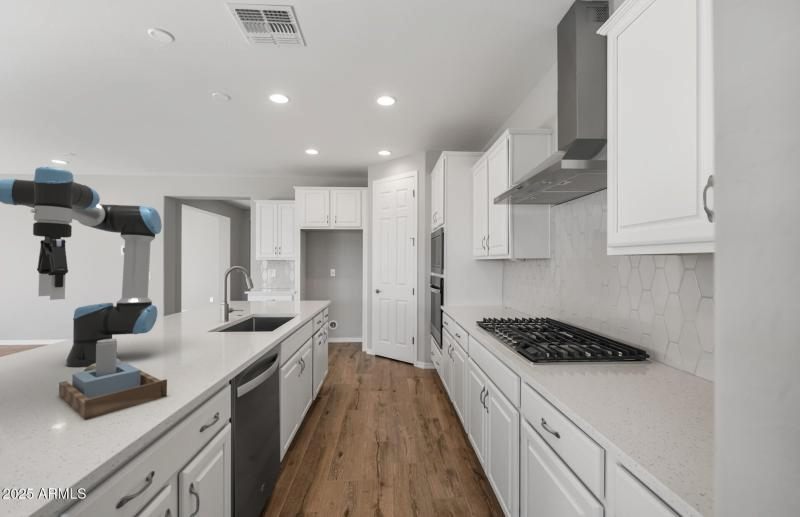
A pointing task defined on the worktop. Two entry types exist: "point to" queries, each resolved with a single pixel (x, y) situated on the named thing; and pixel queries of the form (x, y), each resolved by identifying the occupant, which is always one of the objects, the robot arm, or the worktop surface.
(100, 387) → the blue recessed block
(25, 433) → the worktop surface
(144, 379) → the bay
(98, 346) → the beverage can
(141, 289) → the robot arm
